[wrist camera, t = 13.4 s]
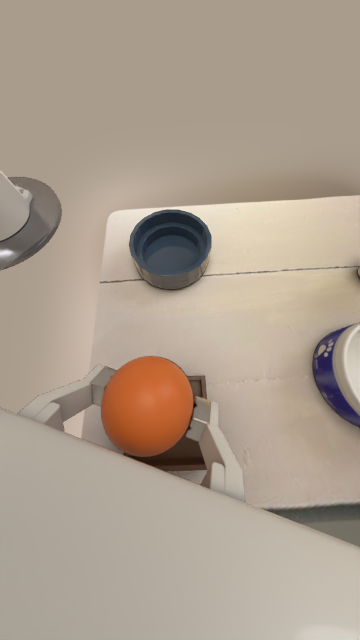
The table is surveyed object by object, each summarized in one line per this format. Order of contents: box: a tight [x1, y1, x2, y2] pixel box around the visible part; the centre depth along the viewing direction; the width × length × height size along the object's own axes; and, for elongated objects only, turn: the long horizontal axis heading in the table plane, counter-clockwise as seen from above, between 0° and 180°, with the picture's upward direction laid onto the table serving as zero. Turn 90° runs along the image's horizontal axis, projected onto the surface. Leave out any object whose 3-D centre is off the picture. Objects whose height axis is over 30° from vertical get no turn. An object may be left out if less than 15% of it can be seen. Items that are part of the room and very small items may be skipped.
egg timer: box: [101, 356, 194, 457], centre depth 12 cm, size 5×5×8 cm
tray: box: [124, 376, 207, 471], centre depth 25 cm, size 11×11×2 cm
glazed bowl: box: [129, 210, 211, 289], centre depth 33 cm, size 14×14×5 cm
